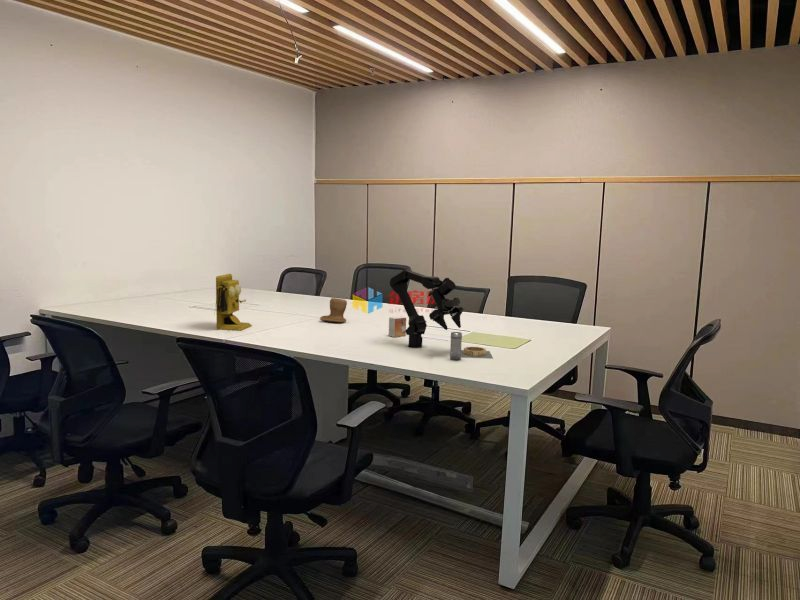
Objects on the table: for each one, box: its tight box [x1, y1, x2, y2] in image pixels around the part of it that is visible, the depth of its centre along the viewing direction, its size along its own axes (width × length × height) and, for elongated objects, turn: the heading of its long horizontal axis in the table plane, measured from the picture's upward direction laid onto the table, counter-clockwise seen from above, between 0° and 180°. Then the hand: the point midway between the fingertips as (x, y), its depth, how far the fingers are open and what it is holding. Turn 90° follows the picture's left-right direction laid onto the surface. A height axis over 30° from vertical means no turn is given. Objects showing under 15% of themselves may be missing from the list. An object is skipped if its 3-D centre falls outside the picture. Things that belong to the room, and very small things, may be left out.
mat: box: [461, 349, 494, 360], centre depth 287 cm, size 16×16×1 cm
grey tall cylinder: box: [449, 331, 463, 362], centre depth 275 cm, size 5×5×13 cm
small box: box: [388, 316, 407, 338], centre depth 328 cm, size 8×6×10 cm
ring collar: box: [463, 346, 487, 357], centre depth 287 cm, size 10×10×2 cm
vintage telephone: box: [214, 273, 253, 332], centre depth 336 cm, size 31×14×30 cm, turn 171°
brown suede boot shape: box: [319, 297, 348, 323], centre depth 367 cm, size 15×12×15 cm
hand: (453, 328), depth 283 cm, fingers open, 9 cm apart
